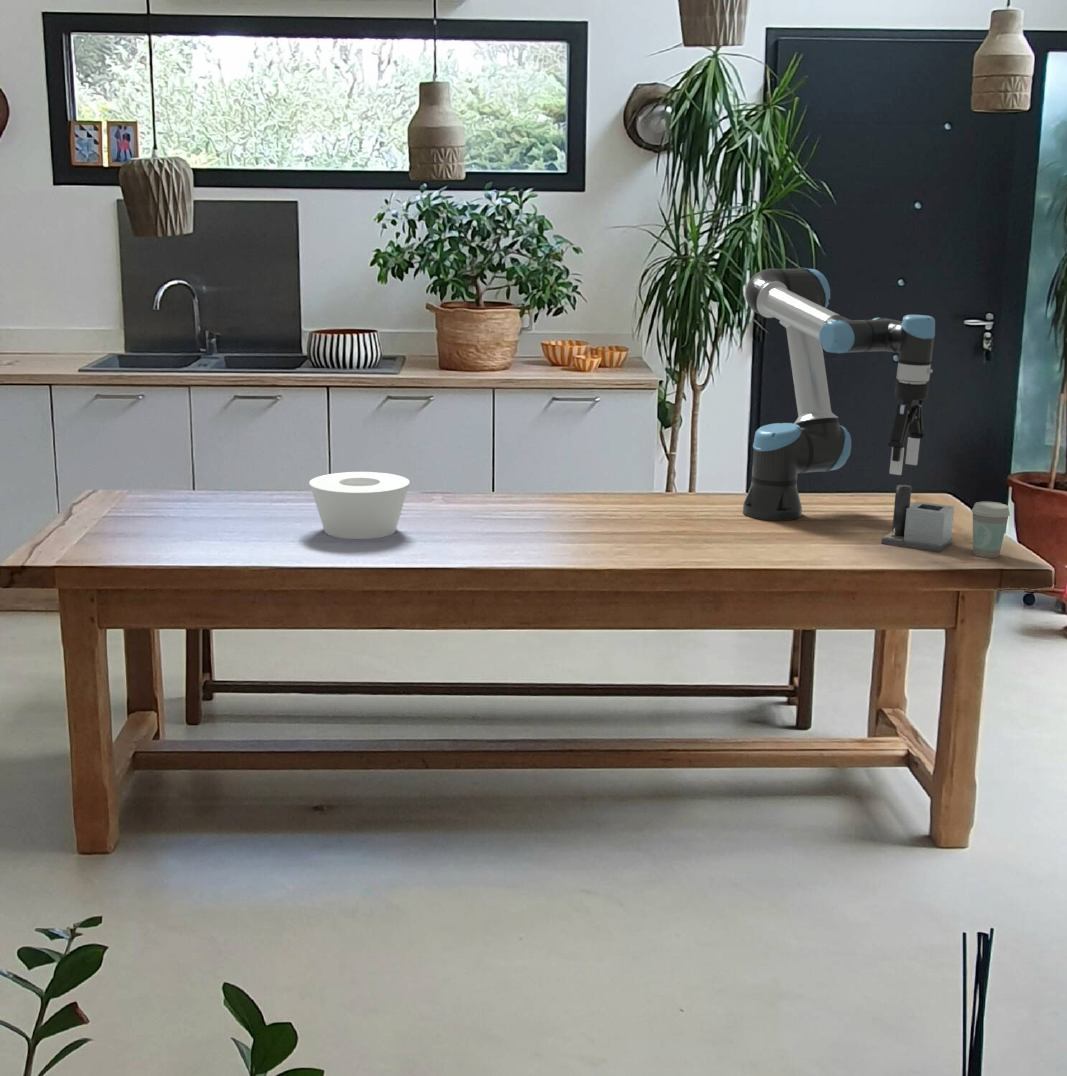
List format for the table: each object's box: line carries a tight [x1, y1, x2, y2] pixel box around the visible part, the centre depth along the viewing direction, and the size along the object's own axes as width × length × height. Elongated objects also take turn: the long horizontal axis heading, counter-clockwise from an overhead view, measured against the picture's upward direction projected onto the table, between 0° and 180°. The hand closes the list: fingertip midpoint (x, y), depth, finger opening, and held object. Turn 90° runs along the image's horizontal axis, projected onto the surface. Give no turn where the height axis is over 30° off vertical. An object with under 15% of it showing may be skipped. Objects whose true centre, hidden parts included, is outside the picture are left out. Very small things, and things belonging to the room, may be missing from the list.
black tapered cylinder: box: [891, 484, 913, 536], centre depth 326 cm, size 4×4×12 cm
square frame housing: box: [881, 501, 955, 553], centre depth 325 cm, size 14×11×9 cm
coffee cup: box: [970, 501, 1011, 559], centre depth 315 cm, size 8×9×12 cm
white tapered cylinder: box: [308, 471, 411, 540], centre depth 325 cm, size 24×24×12 cm
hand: (903, 469), depth 324 cm, fingers open, 13 cm apart
